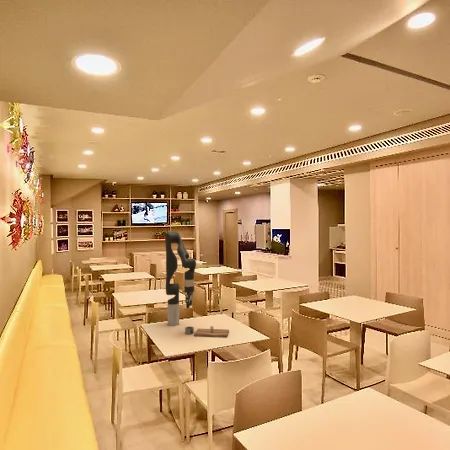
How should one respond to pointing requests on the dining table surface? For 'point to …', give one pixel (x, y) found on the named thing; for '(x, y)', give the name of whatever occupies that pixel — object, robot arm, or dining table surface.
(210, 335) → the post base
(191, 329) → the steel ring
